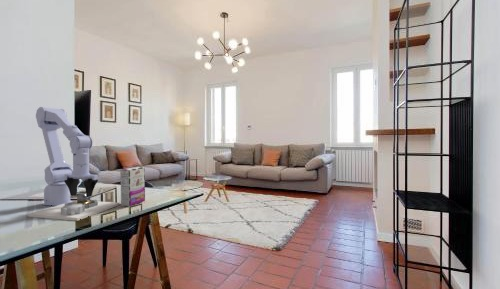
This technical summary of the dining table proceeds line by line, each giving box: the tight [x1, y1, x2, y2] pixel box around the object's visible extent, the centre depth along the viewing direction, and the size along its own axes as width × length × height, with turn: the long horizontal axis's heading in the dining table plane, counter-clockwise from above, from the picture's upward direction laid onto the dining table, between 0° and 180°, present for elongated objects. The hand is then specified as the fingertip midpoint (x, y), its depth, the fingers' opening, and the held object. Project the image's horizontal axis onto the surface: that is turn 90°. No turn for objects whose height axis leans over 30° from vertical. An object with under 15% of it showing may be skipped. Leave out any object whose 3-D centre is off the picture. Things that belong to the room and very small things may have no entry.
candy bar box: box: [119, 166, 146, 207], centre depth 116 cm, size 11×5×16 cm, turn 168°
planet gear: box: [72, 192, 92, 205], centre depth 108 cm, size 7×7×5 cm
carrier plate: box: [27, 199, 120, 222], centre depth 105 cm, size 22×22×4 cm
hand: (81, 196), depth 108 cm, fingers open, 7 cm apart
